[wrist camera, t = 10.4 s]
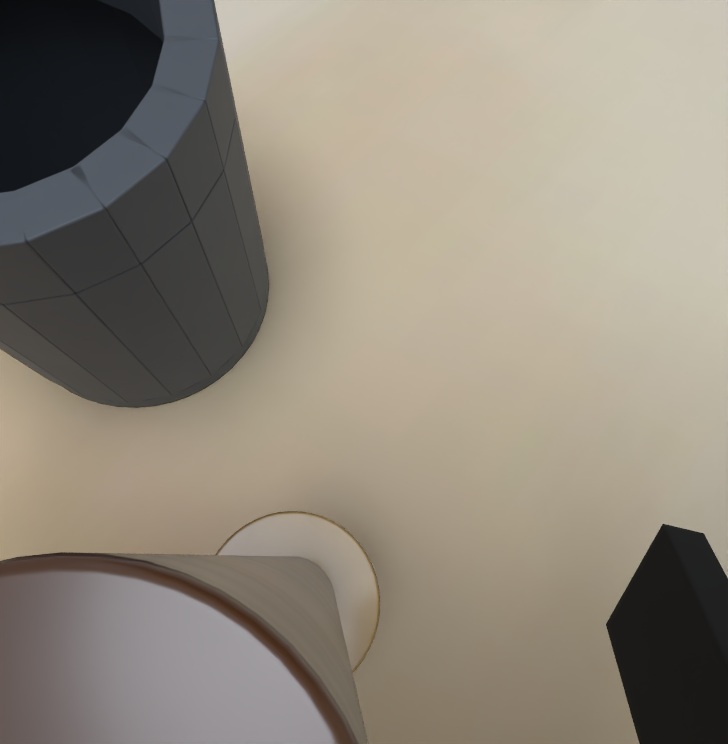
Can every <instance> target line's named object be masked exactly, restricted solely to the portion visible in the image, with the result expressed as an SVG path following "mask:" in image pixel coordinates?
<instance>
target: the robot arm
mask: <svg viewBox="0 0 728 744" xmlns="http://www.w3.org/2000/svg"><path fill="white" fill-rule="evenodd" d="M606 626H607V630H608V633H609V637H610V640H611V644H612V647H613V651H614V655H615V658H616V662H617V665H618V669H619V672H620V676H621V679H622V683H623V687H624V690H625V694H626V697H627V701H628V704H629V708H630V711H631V715H632V719H633V722H634V726H635V729H636V733H637V736H638V740H639V743H640V744H728V578H727V576H726V574H725V573H724V571H723V569H722V567H721V565H720V563H719V561H718V559H717V558H716V556H715V554H714V552H713V550H712V548H711V546H710V544H709V543H708V541H707V539H706V537H705V535H704V533H699V532H695V531H691V530H687V529H682V528H678V527H674V526H669V525H665V524H663V525H662V526H661V528H660V530H659V532H658V533H657V535H656V537H655V539H654V540H653V542H652V544H651V546H650V548H649V549H648V551H647V553H646V555H645V556H644V558H643V560H642V562H641V563H640V565H639V567H638V569H637V570H636V572H635V574H634V576H633V577H632V579H631V581H630V583H629V585H628V586H627V588H626V590H625V592H624V593H623V595H622V597H621V599H620V600H619V602H618V604H617V606H616V607H615V609H614V611H613V613H612V614H611V616H610V618H609V620H608V622H607V623H606Z"/></svg>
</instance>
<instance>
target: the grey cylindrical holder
mask: <svg viewBox="0 0 728 744" xmlns="http://www.w3.org/2000/svg"><path fill="white" fill-rule="evenodd" d="M268 290H269V280H268V269H267V264H266V259H265V253H264V247H263V241H262V236H261V231H260V226H259V221H258V216H257V211H256V206H255V201H254V197H253V192H252V187H251V182H250V177H249V172H248V167H247V162H246V157H245V152H244V147H243V142H242V137H241V132H240V127H239V122H238V117H237V112H236V107H235V102H234V97H233V92H232V87H231V82H230V78H229V73H228V68H227V63H226V58H225V53H224V48H223V43H222V38H221V33H220V28H219V23H218V18H217V13H216V8H215V3H214V0H0V349H1V350H3V351H4V352H6V353H8V354H9V355H11V356H12V357H14V358H15V359H17V360H18V361H20V362H22V363H23V364H25V365H26V366H28V367H29V368H31V369H33V370H34V371H36V372H37V373H39V374H40V375H42V376H44V377H45V378H47V379H48V380H50V381H52V382H54V383H56V384H58V385H61V386H62V387H64V388H65V389H67V390H69V391H70V392H72V393H74V394H76V395H78V396H81V397H83V398H85V399H88V400H91V401H94V402H98V403H101V404H106V405H112V406H118V407H146V406H156V405H160V404H165V403H170V402H173V401H176V400H179V399H182V398H185V397H188V396H190V395H192V394H194V393H196V392H198V391H200V390H202V389H204V388H206V387H207V386H209V385H210V384H212V383H213V382H215V381H216V380H218V379H219V378H220V377H222V376H223V375H224V374H225V373H226V372H228V371H229V370H230V369H231V368H232V367H233V366H234V365H235V364H236V363H237V362H238V361H239V359H240V358H241V357H242V356H243V355H244V353H245V352H246V351H247V349H248V348H249V346H250V345H251V344H252V342H253V340H254V338H255V336H256V334H257V332H258V331H259V328H260V326H261V323H262V320H263V318H264V315H265V310H266V306H267V301H268Z"/></svg>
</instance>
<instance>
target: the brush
mask: <svg viewBox="0 0 728 744" xmlns="http://www.w3.org/2000/svg"><path fill="white" fill-rule="evenodd" d="M379 613H380V595H379V586H378V582H377V578H376V574H375V571H374V569H373V566H372V563H371V562H370V560H369V558H368V556H367V554H366V552H365V551H364V549H363V548H362V547H361V545H360V544H359V543H358V541H357V540H356V539H355V538H354V537H353V536H352V535H351V534H350V533H349V532H347V531H346V530H345V529H344V528H343V527H341V526H339V525H338V524H336V523H335V522H333V521H331V520H329V519H327V518H325V517H322V516H319V515H316V514H312V513H306V512H298V511H287V512H278V513H274V514H270V515H266V516H263V517H261V518H258V519H256V520H254V521H252V522H250V523H248V524H246V525H245V526H243V527H242V528H241V529H239V530H238V531H236V532H235V533H234V534H233V535H232V536H231V537H230V538H229V539H228V540H227V541H226V542H225V543H224V544H223V545H222V546H221V548H220V549H219V550H218V552H217V553H216V555H180V554H121V553H62V552H61V553H52V554H42V555H33V556H23V557H16V558H11V559H7V560H3V561H0V744H368V740H367V736H366V731H365V727H364V722H363V718H362V714H361V709H360V705H359V700H358V696H357V691H356V687H355V683H354V678H353V674H352V673H353V672H354V671H355V670H356V669H357V668H358V666H359V665H360V664H361V662H362V661H363V660H364V658H365V656H366V654H367V652H368V651H369V649H370V647H371V644H372V642H373V639H374V637H375V633H376V630H377V626H378V620H379Z"/></svg>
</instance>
